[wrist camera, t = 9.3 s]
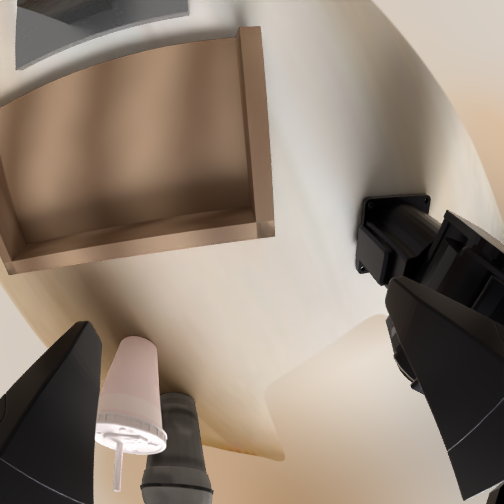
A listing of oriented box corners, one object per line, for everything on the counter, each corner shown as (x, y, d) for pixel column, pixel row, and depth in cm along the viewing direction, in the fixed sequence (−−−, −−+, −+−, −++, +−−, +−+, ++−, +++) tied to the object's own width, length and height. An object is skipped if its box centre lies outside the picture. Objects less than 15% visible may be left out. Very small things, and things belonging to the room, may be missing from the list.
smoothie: (93, 339, 23) (60, 474, 11) (141, 315, 22) (116, 478, 10) (137, 375, 26) (125, 499, 14) (185, 357, 26) (186, 499, 14)
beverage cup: (190, 380, 28) (201, 565, 10) (216, 410, 31) (233, 560, 14) (134, 391, 28) (125, 556, 11) (165, 418, 32) (168, 558, 14)
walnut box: (250, 39, 14) (260, 26, 11) (264, 212, 19) (275, 236, 16) (-7, 115, 12) (-37, 123, 9) (29, 251, 18) (9, 275, 15)
